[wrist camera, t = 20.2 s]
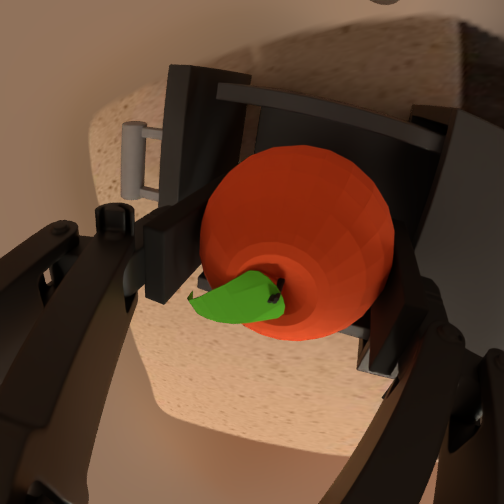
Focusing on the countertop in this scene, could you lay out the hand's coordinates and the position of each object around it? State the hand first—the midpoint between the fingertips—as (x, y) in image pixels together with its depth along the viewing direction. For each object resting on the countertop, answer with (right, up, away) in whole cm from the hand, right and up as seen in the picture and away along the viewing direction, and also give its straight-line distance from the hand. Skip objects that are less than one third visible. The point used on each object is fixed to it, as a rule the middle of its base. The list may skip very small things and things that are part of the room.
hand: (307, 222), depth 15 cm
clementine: (0, +1, 0) cm, 1 cm away
